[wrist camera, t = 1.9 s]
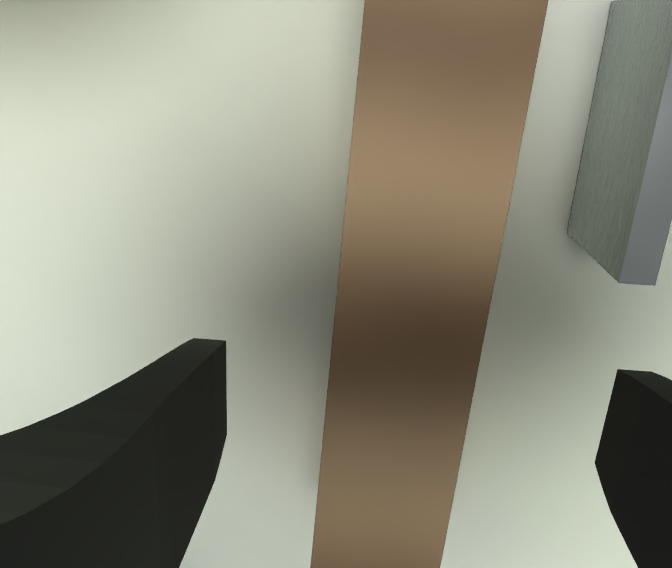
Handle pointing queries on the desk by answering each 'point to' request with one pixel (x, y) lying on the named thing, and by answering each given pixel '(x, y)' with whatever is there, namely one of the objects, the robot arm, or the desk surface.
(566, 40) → the desk surface
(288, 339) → the desk surface
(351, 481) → the walnut rail
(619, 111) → the bracket
